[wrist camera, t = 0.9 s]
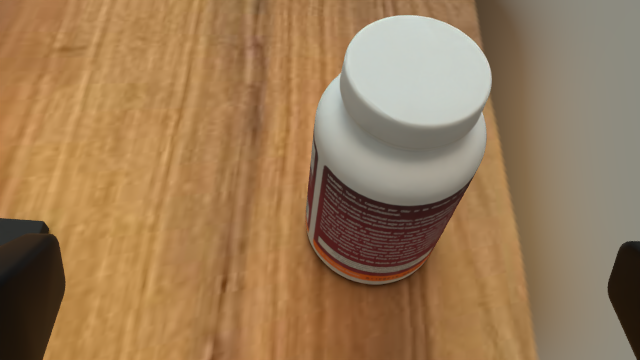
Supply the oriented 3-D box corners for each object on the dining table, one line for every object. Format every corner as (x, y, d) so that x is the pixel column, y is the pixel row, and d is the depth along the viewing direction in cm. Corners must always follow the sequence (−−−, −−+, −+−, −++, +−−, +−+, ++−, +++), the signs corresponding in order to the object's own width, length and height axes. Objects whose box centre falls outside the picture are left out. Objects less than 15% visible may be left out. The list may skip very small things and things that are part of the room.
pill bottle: (458, 257, 27) (559, 110, 17) (341, 310, 25) (381, 180, 15) (393, 155, 29) (449, -20, 20) (283, 196, 28) (288, 26, 18)
